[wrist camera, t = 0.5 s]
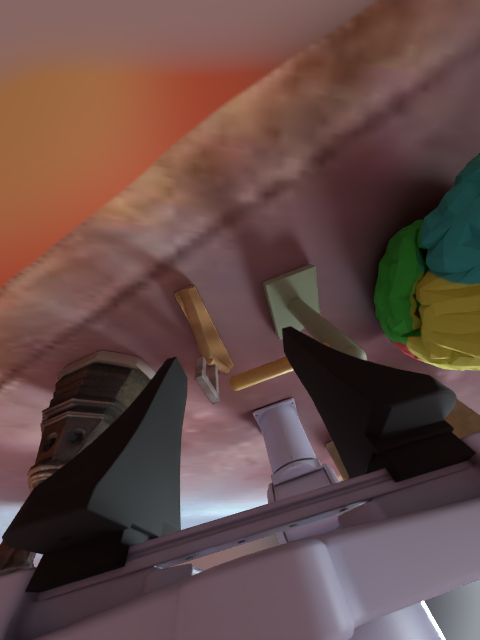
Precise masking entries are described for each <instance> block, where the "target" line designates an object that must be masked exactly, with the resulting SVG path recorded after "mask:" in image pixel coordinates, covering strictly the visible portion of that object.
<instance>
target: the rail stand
mask: <svg viewBox="0 0 480 640" xmlns="http://www.w3.org/2000/svg"><path fill="white" fill-rule="evenodd" d="M262 283H263V287H264V291H265V294H266V298H267V302H268V306H269V309H270V313H271V317H272V321H273V324H274V328H275V332H276V335H277V336H278V338H282V337H283V336H282V328H286V327H289V326H291V327H293V328H295V329H296V330H298V331H301V330H304V329H306V330H307V331H308V332H309V333H310V334H311V335H312V336H313V337H314V339H315V340H316V341H318V342H320V343H322V344H324V345H326V346H328V347H331V348H333V349H335V350H338V351H340V352H343V353H345V354H348V355H351V356H353V357H356V358H360V359H363V360H366V361H367V356H366V353H365V352H364V350H363V349H362V348H361V347H359V346H358V345H357V344H356V343H354V342H353V341H352V340H351V339H349V338H348V337H347V336H346V335H345V334H343V333H342V332H341V331H340V330H338V329H337V328H336V327H335V326H333V325H332V324H331V323H330V322H328V321H327V320H326V319H325V318H323V317H322V316H321V315H320V308H319V297H318V286H317V275H316V266H314V265H311V264H309V265H307V266H304V267H301V268H299V269H296V270H293V271H291V272H288V273H285V274H283V275H280V276H277V277H274V278H272V279H269V280H266V281H264V282H262ZM290 371H293V368H292V367H291V365H290V363H289V361H288V359H287V357H284V358H281V359H278V360H276V361H273V362H270V363H267V364H265V365H262V366H259V367H256V368H254V369H251V370H248V371H245V372H243V373H240V374H237V375H234V376H232V377H231V378H230V380H229V387H230V388H231V389H232V390H234V391H237V390H240V389H243V388H246V387H249V386H251V385H254V384H257V383H260V382H262V381H265V380H268V379H271V378H273V377H276V376H279V375H282V374H285V373H287V372H290Z"/></svg>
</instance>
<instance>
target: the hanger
mask: <svg viewBox="0 0 480 640" xmlns="http://www.w3.org/2000/svg"><path fill="white" fill-rule="evenodd" d="M174 297H175V298H176V300H177V302H178V304H179V305H180V307H181V309H182V310H183V312H184V314H185V316H186V317H187V319H188V321H189V323H190V326H191V329H192V332H193V334H194V337H195V340H196V343H197V346H198V349H199V352H200V354H201V357H200V358H197V359H196V371H195V380H196V381H197V383H198V384H199V385H200V387H201V388H202V390H203V391H204V393H205V394H206V395H207V397H208V398H209V400H210V401H211V403H212V404H215V403H218V402H219V385H218V373H220V372H222V373H224V374H228V373H229V371H230V369H231V368H234V366H233V363H232V361H231V359H230V357H229V354H228V352H227V350H226V348H225V346H224V344H223V342H222V340H221V338H220V336H219V334H218V332H217V330H216V328H215V326H214V324H213V322H212V320H211V318H210V315H209V313H208V311H207V309H206V307H205V305H204V303H203V301H202V299H201V297H200V295H199V293H198V291H197V289H196V287H195V285H192V286H189V287H187V288H184V289H181V290H179V291H176V292H174ZM206 365H208V366H209V374H210V380H209V379H208V377H207V376H206Z"/></svg>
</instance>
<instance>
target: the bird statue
mask: <svg viewBox="0 0 480 640" xmlns="http://www.w3.org/2000/svg"><path fill="white" fill-rule="evenodd" d="M155 374H156V373H155V372H154V371H153V369H152V368H151V367H150V366H149V365H148V364H147V363H146V362H145V361H144V360H143V359H142V358H141V357H138V356H132V355H126V354H121V353H115V352H109V351H103V350H101V351H98V352H96V353H94V354H92V355H90V356H87V357H85V358H83V359H81V360H78V361H76V362H74V363H72V364H69V365H67V366H66V367H65V368H64V369H63V370H62V371H61V372H60V373H59V374H58V382H57V383H56V384H55V385H56V389H55V390H56V391H55V392H54V396H53V397H54V398H53V399H52V400H51V402H50V406H49V408H47V409H44V410H43V411H42V413H43V417H42V418H43V420H42V423H41V432H42V439H41V442H40V446H39V451H38V454H37V458H36V462H35V465H34V466H32V467H31V469H30V470H29V471H28V474H27V475H28V484H29V486H30V487H29V488H30V493H31V492H32V490H33V489H34V488H35V487H36V486H38V485H39V484H40V483H42V482H43V481H44V480H46V479H47V478H48V477H50V476H51V475H52V474H53V473H55V472H56V471H57V470H59V469H60V468H61V467H63V466H64V465H65V464H66V463H68V462H69V461H70V460H71V459H73V458H74V457H75V456H76V455H77V454H79V453H80V452H81V451H82V450H83V449H85V448H86V447H87V446H88V445H89V444H90V443H92V442H93V441H94V440H95V439H96V438H97V437H98V436H99V435H100V434H101V433H103V432H104V431H105V430H106V429H107V428H108V427H109V426H110V425H111V424H112V423H113V422H114V421H115V420H116V419H117V418H118V417H119V416H120V415H121V414H122V413H123V412H124V411H125V410H126V409H127V408H128V407H129V406H130V405H131V403H132V402H133V401H134V400H135V399H136V398H137V397H138V395H139V394H140V393H141V392H142V390H143V389H144V388H145V387H146V386H147V384H148V383H149V382H150V381H151V379H152V378H153V377H154V375H155ZM35 555H36V553H34V552H29V551H24V550H19V549H15V548H11V547H8V546H6V545H5V544H4V543H3V541H2V543H1V544H0V576H3V575H6V574H9V573H13V572H16V571H19V570H23V569H27V568H34V564H33V559H34V558H35Z"/></svg>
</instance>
